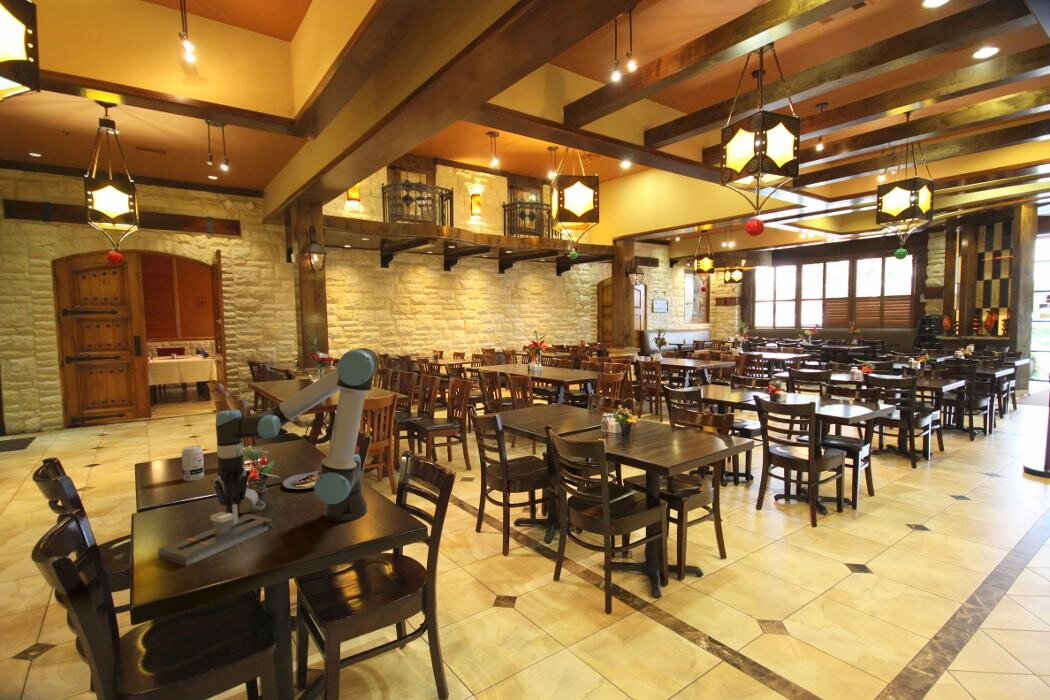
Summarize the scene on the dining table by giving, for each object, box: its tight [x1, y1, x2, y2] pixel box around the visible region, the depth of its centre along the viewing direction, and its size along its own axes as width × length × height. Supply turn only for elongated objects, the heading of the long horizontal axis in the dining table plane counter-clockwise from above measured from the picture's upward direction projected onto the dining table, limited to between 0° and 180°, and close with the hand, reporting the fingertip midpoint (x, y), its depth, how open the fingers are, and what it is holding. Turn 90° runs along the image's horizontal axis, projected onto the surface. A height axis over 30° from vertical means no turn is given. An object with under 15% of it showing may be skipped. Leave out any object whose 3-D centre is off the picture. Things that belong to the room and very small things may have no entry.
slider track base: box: [157, 513, 274, 567], centre depth 166 cm, size 30×14×3 cm, turn 155°
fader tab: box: [210, 511, 234, 537], centre depth 167 cm, size 4×6×7 cm, turn 65°
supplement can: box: [181, 445, 205, 482], centre depth 234 cm, size 8×8×15 cm
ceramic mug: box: [238, 488, 266, 515], centre depth 194 cm, size 11×8×8 cm
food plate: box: [282, 470, 320, 491], centre depth 226 cm, size 25×23×4 cm
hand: (233, 522), depth 171 cm, fingers closed
